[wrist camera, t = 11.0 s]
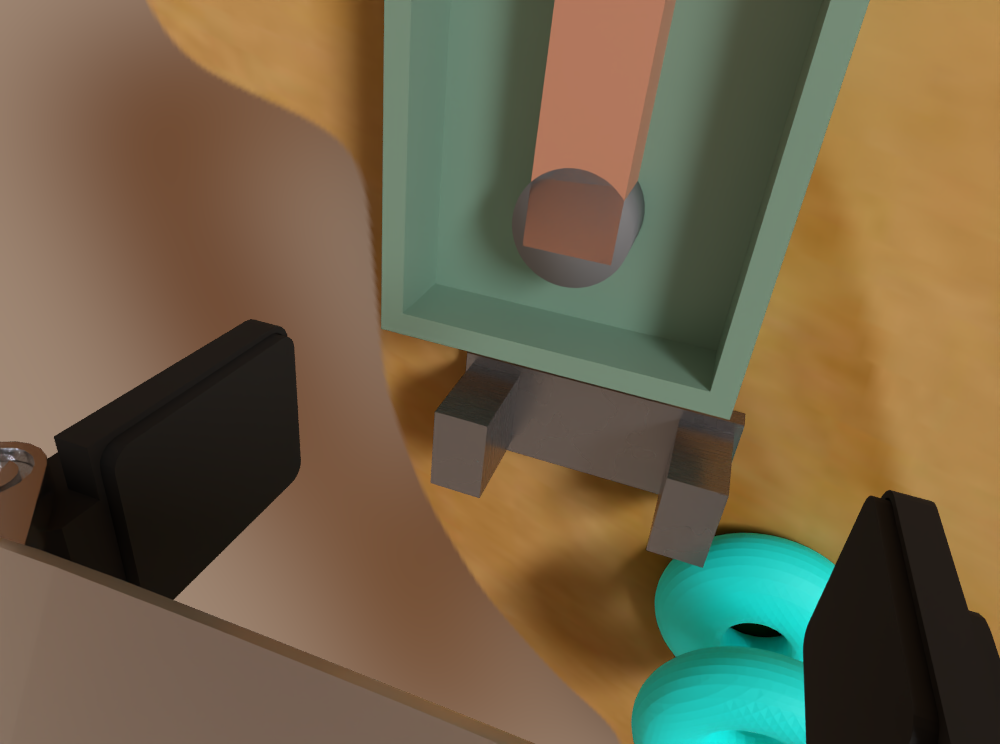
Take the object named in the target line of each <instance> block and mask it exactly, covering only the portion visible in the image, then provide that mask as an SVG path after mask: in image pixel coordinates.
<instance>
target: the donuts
mask: <svg viewBox="0 0 1000 744" xmlns="http://www.w3.org/2000/svg"><path fill="white" fill-rule="evenodd" d="M834 567H835V565H834V564H833V563H832V562H831V561H829V560H828V559H827V558H825V557H824V556H822V555H821V554H819V553H817V552H816V551H814V550H812V549H810V548H808V547H806V546H804V545H802V544H799V543H797V542H794V541H791V540H788V539H785V538H781V537H777V536H772V535H766V534H758V533H731V534H724V535H718V536H714V538H713V541H712V544H711V547H710V549H709V552H708V555H707V558H706V561H705V563H704V566H703V568H702V567H698V566H695V565H692V564H689V563H686V562H682V561H679V560H676V559H673V560H672V561H671V562H670V563H669V564H668V566H667V567H666V569H665V570H664V572H663V574H662V575H661V577H660V580H659V582H658V585H657V589H656V594H655V615H656V620H657V624H658V627H659V629H660V632H661V635H662V637H663V639H664V641H665V642H666V644H667V646H668V647H669V649H670V650H671V651H672V653H673V654H674V655H675V656H676V657H675V658H673V659H671V660H669V661H668V662H666V663H664V664H663V665H661V666H660V667H659V668H657V669H656V670H655V671H654V672H653V673H652V674H651V675H650V676H649V677H648V679H647V680H646V681H645V682H644V684H643V685H642V687H641V689H640V691H639V693H638V695H637V697H636V699H635V703H634V707H633V712H632V734H633V740H634V744H806V728H805V699H804V670H803V642H804V636H805V632H806V628H807V625H808V623H809V621H810V618H811V616H812V614H813V612H814V610H815V608H816V606H817V603H818V601H819V599H820V597H821V595H822V593H823V590H824V588H825V586H826V584H827V582H828V580H829V578H830V575H831V573H832V571H833V569H834ZM742 623H755V624H761V625H764V626H768V627H770V628H772V629H774V630H777V631H778V632H779V633H781V634H782V636H777V637H756V636H751V635H747V634H744V633H741V632H739V631H736V630H734V629H733V628H731V626H734V625H737V624H742ZM753 732H754V733H753ZM758 733H759V734H758Z"/></svg>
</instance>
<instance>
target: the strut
mask: <svg viewBox="0 0 1000 744" xmlns="http://www.w3.org/2000/svg"><path fill="white" fill-rule="evenodd" d="M675 3H676V0H555V2H554V10H553V17H552V25H551V33H550V40H549V48H548V56H547V63H546V71H545V79H544V86H543V94H542V102H541V109H540V117H539V125H538V132H537V140H536V148H535V155H534V163H533V171H532V178H531V183H529V184H528V185H527V187H526V188H525V189H524V190H523V191H522V193H521V194H520V196H519V198H518V200H517V202H516V205H515V208H514V211H513V217H512V233H513V238H514V242H515V245H516V248H517V250H518V252H519V254H520V256H521V258H522V259H523V261H524V262H525V263H526V265H527V266H528V267H529V268H530V269H531V270H532V271H533V272H534V273H535V274H537V275H538V276H539V277H541V278H542V279H544V280H546V281H548V282H550V283H552V284H555V285H558V286H562V287H567V288H584V287H589V286H592V285H595V284H598V283H600V282H602V281H604V280H606V279H607V278H609V277H610V276H611V275H612V274H614V273H615V272H616V271H617V270H618V268H619V267H620V266H621V265H622V263H623V262H624V260H625V258H626V256H627V255H628V253H629V251H630V249H631V247H632V245H633V243H634V241H635V239H636V237H637V236H638V234H639V231H640V229H641V227H642V224H643V220H644V214H645V202H644V196H643V192H642V189H641V186H640V184H639V182H638V178H639V173H640V168H641V163H642V159H643V154H644V149H645V144H646V140H647V135H648V130H649V126H650V121H651V116H652V111H653V107H654V102H655V97H656V93H657V88H658V83H659V78H660V74H661V69H662V64H663V59H664V55H665V50H666V45H667V41H668V36H669V31H670V26H671V22H672V17H673V12H674V8H675Z"/></svg>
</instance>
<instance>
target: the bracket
mask: <svg viewBox="0 0 1000 744" xmlns="http://www.w3.org/2000/svg"><path fill="white" fill-rule="evenodd" d="M744 425H745V414H744V413H740V412H736V411H732V414H731V417H730V420H728V419H724V418H721V417H717V416H713V415H709V414H705V413H701V412H698V411H694V410H690V409H686V408H682V407H679V406H675V405H671V404H667V403H663V402H659V401H656V400H652V399H648V398H644V397H640V396H637V395H633V394H629V393H625V392H621V391H617V390H614V389H610V388H606V387H602V386H598V385H595V384H591V383H587V382H583V381H579V380H575V379H572V378H568V377H564V376H560V375H556V374H553V373H549V372H545V371H541V370H537V369H533V368H530V367H526V366H522V365H518V364H514V363H511V362H507V361H503V360H499V359H495V358H491V357H488V356H484V355H480V354H476V353H472V352H468V353H467V364H466V372H465V374H464V375H463V376H462V378H461V379H460V380H459V381H458V383H457V384H456V385H455V387H454V388H453V389H452V390H451V392H450V393H449V394H448V396H447V397H446V398H445V399H444V401H443V402H442V403H441V405H440V406H439V407H438V408H437V410H436V411H435V419H434V436H433V452H432V469H431V483H433V484H436V485H439V486H442V487H445V488H449V489H452V490H455V491H458V492H461V493H465V494H468V495H471V496H474V497H477V498H480V496H481V495H482V493H483V491H484V489H485V488H486V486H487V484H488V482H489V480H490V479H491V477H492V475H493V473H494V472H495V470H496V468H497V466H498V465H499V463H500V461H501V459H502V457H503V456H504V454H505V452H506V450H509V451H512V452H516V453H519V454H523V455H526V456H530V457H533V458H536V459H540V460H543V461H547V462H550V463H553V464H557V465H560V466H564V467H567V468H571V469H574V470H577V471H581V472H584V473H588V474H591V475H594V476H598V477H601V478H605V479H608V480H612V481H615V482H618V483H622V484H625V485H629V486H632V487H635V488H639V489H642V490H646V491H649V492H653V493H656V494H659V495H658V500H657V504H656V509H655V513H654V517H653V522H652V526H651V531H650V535H649V540H648V544H647V548H646V550H647V551H650V552H654V553H657V554H660V555H663V556H666V557H670V558H673V559H676V560H679V561H682V562H686V563H689V564H692V565H695V566H698V567H702V568H703V566H704V563H705V561H706V558H707V555H708V552H709V549H710V547H711V544H712V541H713V538H714V535H715V533H716V530H717V527H718V524H719V521H720V519H721V516H722V513H723V510H724V507H725V505H726V502H727V499H728V496H729V486H730V475H731V464H732V460H733V457H734V454H735V451H736V449H737V446H738V443H739V440H740V437H741V434H742V431H743V429H744Z"/></svg>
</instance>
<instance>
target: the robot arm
mask: <svg viewBox="0 0 1000 744" xmlns="http://www.w3.org/2000/svg"><path fill="white" fill-rule="evenodd" d="M54 439H55V443H56V446H57V450H58V453H56V454H54V455H53V456H52V457H50V458H48V459H47V456H46V454H45V453H44V452H43V451H42V449H41V448H39V447H36V446H34V445H32V444H29V443H23V442H16V441H14V442H0V744H534V743H532V742H530V741H527V740H524V739H522V738H520V737H517V736H515V735H512V734H509V733H507V732H505V731H502V730H500V729H497V728H495V727H492V726H490V725H487V724H485V723H482V722H480V721H477V720H475V719H473V718H470V717H467V716H465V715H463V714H460V713H457V712H455V711H453V710H450V709H448V708H445V707H443V706H440V705H437V704H435V703H432V702H430V701H427V700H425V699H422V698H420V697H418V696H415V695H412V694H410V693H407V692H405V691H402V690H400V689H397V688H395V687H392V686H390V685H387V684H385V683H382V682H380V681H377V680H375V679H372V678H370V677H367V676H365V675H362V674H360V673H357V672H354V671H352V670H350V669H347V668H344V667H342V666H339V665H337V664H334V663H332V662H329V661H327V660H324V659H322V658H319V657H317V656H314V655H312V654H309V653H307V652H304V651H302V650H299V649H296V648H294V647H292V646H289V645H286V644H284V643H281V642H279V641H276V640H274V639H271V638H269V637H266V636H264V635H261V634H259V633H256V632H254V631H251V630H249V629H246V628H243V627H240V626H238V625H236V624H233V623H230V622H228V621H225V620H223V619H220V618H218V617H215V616H213V615H210V614H208V613H205V612H202V611H200V610H197V609H195V608H192V607H189V606H187V605H184V604H182V603H179V602H177V601H174V599H175V598H176V597H177V596H178V594H180V593H181V592H182V591H183V590H184V589H185V588H186V587H187V586H188V585H189V584H190V583H191V582H192V581H193V580H194V579H195V578H196V577H197V576H198V575H199V574H200V573H201V572H202V571H203V570H204V569H205V568H206V567H207V566H208V565H209V564H210V563H211V562H212V561H213V560H214V559H215V558H216V557H217V556H218V555H219V554H220V553H221V552H222V551H223V550H224V549H225V548H226V547H227V546H228V545H229V544H230V543H231V542H232V541H233V540H234V539H235V538H236V537H237V536H238V535H239V534H240V533H241V532H242V531H243V530H244V529H245V528H246V527H247V526H248V525H249V524H250V523H251V522H252V521H253V520H254V519H256V517H258V515H260V513H262V512H263V511H264V509H266V508H267V507H268V506H269V505H270V504H271V503H272V502H273V501H274V499H276V498H277V497H278V496H279V495H280V494H281V493H282V492H283V491H284V490H285V489H286V488H287V487H288V486H289V485H290V484H291V483H292V482H293V481H294V479H295V478H296V476H297V474H298V472H299V469H300V464H301V457H300V440H299V423H298V405H297V388H296V372H295V354H294V344H293V341H292V339H290V338H289V337H287V333H286V331H285V330H284V329H283V328H282V327H280V326H276V325H272V324H269V323H265V322H261V321H257V320H252V319H250V320H247V321H245V322H243V323H242V324H240V325H239V326H237V327H235V328H234V329H232V330H230V331H229V332H227V333H225V334H224V335H222V336H220V337H219V338H217V339H215V340H214V341H212V342H210V343H209V344H207V345H205V346H204V347H202V348H200V349H199V350H197V351H195V352H194V353H192V354H190V355H189V356H187V357H185V358H184V359H182V360H180V361H179V362H177V363H175V364H174V365H172V366H170V367H169V368H167V369H165V370H164V371H162V372H161V373H159V374H157V375H155V376H154V377H152V378H151V379H149V380H147V381H146V382H144V383H142V384H140V385H139V386H137V387H136V388H134V389H133V390H131V391H129V392H127V393H126V394H124V395H122V396H121V397H119V398H117V399H116V400H114V401H113V402H111V403H109V404H107V405H106V406H104V407H102V408H101V409H99V410H97V411H96V412H94V413H92V414H91V415H89V416H87V417H86V418H84V419H82V420H81V421H79V422H77V423H76V424H74V425H73V426H71V427H69V428H67V429H66V430H64V431H62V432H61V433H59V434H58V435H56V436H54ZM803 670H804V699H805V728H806V744H1000V658H999V655H998V652H997V649H996V646H995V643H994V640H993V637H992V634H991V631H990V628H989V626H988V624H987V622H986V620H985V618H983V617H982V616H981V615H980V614H979V613H975V612H972V611H969V610H968V607H967V604H966V601H965V598H964V594H963V591H962V588H961V585H960V581H959V578H958V575H957V572H956V568H955V565H954V562H953V559H952V555H951V552H950V549H949V546H948V542H947V539H946V536H945V533H944V529H943V526H942V523H941V520H940V516H939V513H938V510H937V507H936V505H935V503H934V502H932V501H929V500H925V499H921V498H917V497H914V496H910V495H906V494H903V493H899V492H895V491H891V490H888V491H886V492H885V493H884V494H883V496H882V497H881V498H878V497H874V496H869V497H868V498H867V499H866V501H865V503H864V504H863V507H862V509H861V511H860V513H859V515H858V517H857V519H856V522H855V524H854V526H853V528H852V530H851V532H850V535H849V537H848V539H847V541H846V543H845V545H844V547H843V550H842V552H841V554H840V556H839V558H838V560H837V563H836V565H835V567H834V569H833V571H832V573H831V575H830V578H829V580H828V582H827V584H826V586H825V588H824V590H823V593H822V595H821V597H820V599H819V601H818V603H817V606H816V608H815V610H814V612H813V614H812V616H811V618H810V621H809V623H808V625H807V628H806V632H805V636H804V642H803Z"/></svg>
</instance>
